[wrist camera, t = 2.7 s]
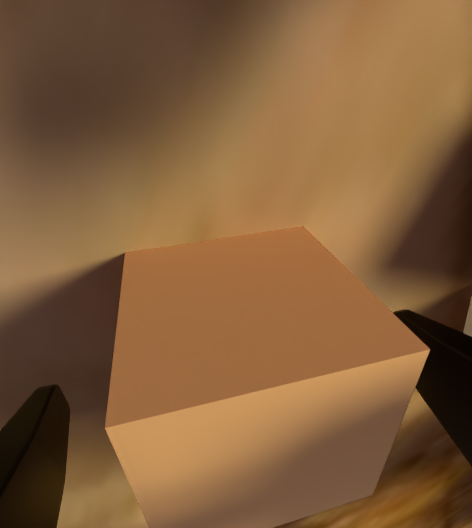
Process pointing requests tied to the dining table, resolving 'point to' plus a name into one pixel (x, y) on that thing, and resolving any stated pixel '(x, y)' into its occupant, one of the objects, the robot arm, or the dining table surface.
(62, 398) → the robot arm
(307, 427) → the terracotta cube
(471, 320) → the cream cube
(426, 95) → the dining table surface
